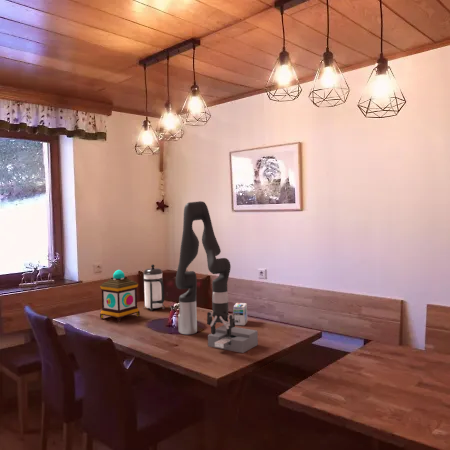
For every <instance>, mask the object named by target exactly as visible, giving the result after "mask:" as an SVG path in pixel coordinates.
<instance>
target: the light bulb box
mask: <svg viewBox="0 0 450 450" xmlns="http://www.w3.org/2000/svg"><path fill="white" fill-rule="evenodd" d="M232 310H233V312H232V313H233V314H234V318H235V326H245V325H246V324H247V323H248V303H245V302H236V303H235V304H234V305H233V309H232Z"/></svg>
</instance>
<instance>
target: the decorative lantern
mask: <svg viewBox="0 0 450 450" xmlns="http://www.w3.org/2000/svg"><path fill="white" fill-rule="evenodd" d="M125 275H126V274H125V272H123V270H121V269H117V270H115V271H114V273H113V274H112V277H110V279H109V280H107V281H105V282H103V283H102V284H100V285H99V288H100V290H101V311H100V313H99V317H100V319H101V318H104V316H105V317H111V318H116V319H117V322H118V323H120V322H121V319H122V318H123V317H127V316H130V315H133V314H134V315H136V316H137V317H138V316H139V317H140V309H139V308H138V292H137V291H138V289H137V288H138V286H139V283H138V282H137V281H135V280H131V279H129V278H128V277H126V276H125Z"/></svg>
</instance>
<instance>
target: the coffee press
mask: <svg viewBox="0 0 450 450" xmlns="http://www.w3.org/2000/svg"><path fill="white" fill-rule="evenodd" d="M143 294H144V295H143V296H144V298H143V299H144V300H143V301H144V304H143V305H144V306H143V307H142V309H143V308H147V309H149V310H150V311H149V312H153V311H154V309H159V308H162V310H165V309H166V306H165V305H164V302H165V285H164V281H163V270H162V268H160V267H155V264H151V266H150V267H148V268H146V269H145V270H144V271H143ZM152 310H153V311H152Z"/></svg>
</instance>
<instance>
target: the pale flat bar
mask: <svg viewBox="0 0 450 450" xmlns="http://www.w3.org/2000/svg"><path fill="white" fill-rule="evenodd" d="M235 337H237V336H235V335H231V336H230V337H225V338H223V339H220V340H218V341H216V342H215V347H220V348H225V347H227V346H229V345H231V339H233V338H235ZM215 347H214V348H215ZM220 348H219V349H220Z"/></svg>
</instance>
